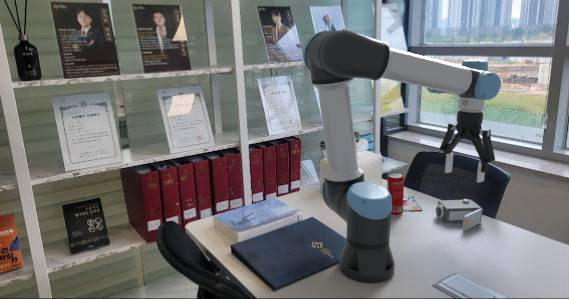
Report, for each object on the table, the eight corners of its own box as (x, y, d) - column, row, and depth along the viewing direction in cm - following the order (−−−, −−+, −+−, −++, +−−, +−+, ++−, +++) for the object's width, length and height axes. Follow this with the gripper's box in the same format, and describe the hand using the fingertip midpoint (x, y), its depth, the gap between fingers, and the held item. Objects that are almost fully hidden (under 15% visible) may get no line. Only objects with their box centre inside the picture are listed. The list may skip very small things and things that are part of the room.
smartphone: (402, 210, 158) (393, 196, 173) (402, 212, 158) (393, 197, 173) (423, 210, 158) (412, 195, 172) (423, 212, 158) (412, 197, 173)
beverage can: (405, 212, 158) (407, 173, 154) (399, 218, 152) (401, 178, 148) (389, 208, 161) (391, 170, 157) (383, 214, 155) (385, 175, 151)
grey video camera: (441, 223, 147) (443, 206, 146) (432, 214, 155) (434, 198, 153) (479, 222, 148) (481, 205, 146) (469, 213, 155) (471, 197, 154)
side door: (465, 231, 141) (467, 217, 139) (461, 230, 142) (463, 216, 140) (482, 222, 147) (484, 209, 146) (478, 221, 148) (480, 208, 147)
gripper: (431, 106, 142) (426, 169, 147) (499, 117, 123) (490, 189, 128) (446, 104, 146) (441, 166, 151) (513, 114, 127) (504, 184, 132)
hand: (463, 176), depth 140 cm, fingers open, 11 cm apart
